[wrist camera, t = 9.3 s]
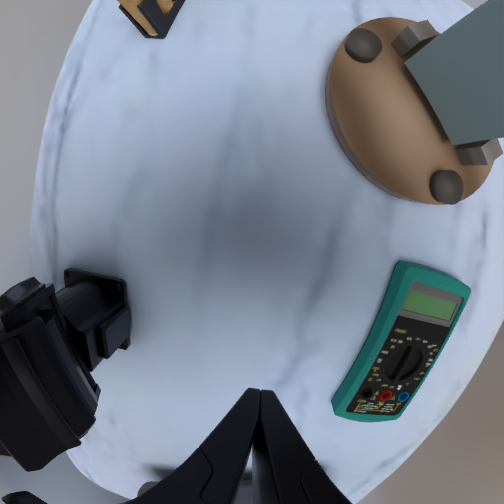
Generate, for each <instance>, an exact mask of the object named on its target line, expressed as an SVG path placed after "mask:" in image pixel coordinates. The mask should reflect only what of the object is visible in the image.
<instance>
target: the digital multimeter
mask: <svg viewBox="0 0 504 504" xmlns="http://www.w3.org/2000/svg"><path fill="white" fill-rule="evenodd" d="M470 293H471V288H470V287H468V286H467V285H465V284H464V283H462V282H461V281H459V280H457V279H455V278H453V277H451V276H449V275H447V274H445V273H443V272H441V271H438V270H435V269H433V268H430V267H426V266H423V265H419V264H415V263H411V262H406V261H400V262H398V263H397V265H396V267H395V270H394V273H393V276H392V279H391V282H390V285H389V288H388V290H387V293H386V296H385V299H384V301H383V304H382V307H381V309H380V312H379V314H378V317H377V319H376V321H375V323H374V326H373V328H372V330H371V332H370V334H369V336H368V339H367V341H366V343H365V345H364V347H363V349H362V351H361V353H360V354H359V356H358V358H357V360H356V362H355V363H354V365H353V367H352V368H351V370H350V372H349V374H348V375H347V377H346V379H345V380H344V382H343V383H342V385H341V386H340V388H339V389H338V391H337V392H336V394H335V395H334V397H333V398H332V406H333V410H334V414H335V415H337V416H340V417H343V418H346V419H349V420H354V421H359V422H381V421H389V420H396V419H398V418H399V417H400V416H401V415H402V413H403V412H404V410H405V409H406V407H407V406H408V404H409V403H410V402H411V400H412V399H413V397H414V396H415V394H416V393H417V391H418V390H419V388H420V386H421V385H422V383H423V382H424V380H425V378H426V377H427V375H428V374H429V372H430V370H431V369H432V367H433V365H434V364H435V362H436V360H437V359H438V357H439V355H440V353H441V352H442V350H443V348H444V346H445V344H446V342H447V341H448V339H449V337H450V335H451V333H452V331H453V329H454V327H455V325H456V323H457V321H458V319H459V317H460V315H461V313H462V311H463V309H464V307H465V305H466V303H467V300H468V298H469V296H470ZM393 324H394V325H393ZM392 326H393V327H392ZM391 328H392V329H391ZM390 330H391V331H390ZM389 332H390V333H389ZM388 334H389V335H388ZM387 336H388V337H387ZM386 338H387V339H386ZM385 340H386V341H385ZM384 342H385V343H384ZM383 344H384V345H383ZM382 346H383V347H382ZM381 348H382V349H381ZM376 357H377V358H376ZM375 359H376V360H375ZM374 361H375V362H374ZM371 366H372V367H371ZM370 368H371V369H370ZM369 370H370V371H369ZM366 375H367V376H366ZM365 377H366V378H365ZM385 378H386V379H385ZM356 392H357V393H356ZM354 395H355V396H354ZM351 400H352V401H351ZM349 403H350V404H349Z"/></svg>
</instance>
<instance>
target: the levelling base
mask: <svg viewBox="0 0 504 504" xmlns="http://www.w3.org/2000/svg"><path fill="white" fill-rule="evenodd" d="M439 35H441V34H440V33H439V32H437V31H436V30H435V29H434V28H433V26H432V25H431V24H430V23H429V21H428V20H425V21H421V22H415V21H412V20H408V19H403V18H393V17H388V18H378V19H374V20H370V21H368V22H365V23H363V24H361V25H360V26H358V27H356V28H355V29H353V30H352V31H351V32H350V33H349V34H348V35H347V36H346V38H345V39H344V41H343V42H342V43H341V45H340V47H339V49H338V51H337V53H336V55H335V57H334V59H333V61H332V63H331V65H330V68H329V71H328V75H327V79H326V88H325V93H326V106H327V112H328V116H329V119H330V123H331V126H332V128H333V131H334V133H335V136H336V138H337V140H338V142H339V144H340V145H341V147H342V149H343V151H344V152H345V154H346V155H347V156H348V158H349V159H350V161H351V162H352V163H353V164H354V165H355V167H356V168H357V169H358V170H359V171H360V172H361V173H362V174H363V175H364V176H365V177H366V178H367V179H368V180H370V181H371V182H372V183H374V184H375V185H376V186H377V187H379V188H381V189H382V190H384V191H386V192H387V193H389V194H392V195H394V196H396V197H399V198H402V199H406V200H409V201H415V202H421V203H427V204H434V205H445V204H451V205H453V204H456V203H458V202H459V201H461V200H463V199H465V198H467V197H469V196H470V195H472V194H473V193H474V192H475V191H476V190H477V189H478V188H479V187H480V186H481V185H482V184H483V182H484V181H485V180H486V178H487V176H488V174H489V173H490V170H491V168H492V165H493V163H494V160H495V159H497V158H498V157H499V156H500V155H502V154H503V151H502V149H501V146H500V144H499V141H498V139H497V138H496V139H489V140H483V141H476V142H470V143H465V144H459V145H453V146H452V144H451V142H450V140H449V138H448V136H447V134H446V132H445V130H444V128H443V126H442V124H441V122H440V120H439V118H438V117H437V115H436V113H435V111H434V109H433V108H432V106H431V104H430V102H429V101H428V99H427V97H426V96H425V94H424V92H423V91H422V89H421V87H420V86H419V84H418V83H417V81H416V80H415V78H414V77H413V75H412V74H411V72H410V71H409V69H408V68H407V66H406V65H405V64H404V62H406V61H407V60H408V59H409V58H411V57H412V56H413V55H415V54H416V53H417V52H418V51H420V50H421V49H422V48H424V47H425V46H426V45H427V44H429V43H430V42H431V41H433V40H434V39H435V38H437V37H438V36H439Z"/></svg>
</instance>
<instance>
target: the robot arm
mask: <svg viewBox="0 0 504 504" xmlns="http://www.w3.org/2000/svg"><path fill="white" fill-rule="evenodd" d="M69 274H70V275H69ZM64 281H65V288H63V289H61V290H59V291H58V292H56V293H55V292H54V291H55V288H54V285H53V283H51V284H46V285H45V284H41V283H40V282H39V281H38V280H37V279H35V278H34V277H31V278H28V279H26V280H25V281H22V282H20V283H18V284H16V285H15V286H13V287H11V288H10V289H9V290H7V291H6V292H5V293H4V294H2V295H1V296H0V456H6V457H13V458H14V459H15V460H16V461H17V462H18V463H19V465H20V466H21V467H22V468H23V469H24V470H25V471H28V472H29V471H35V470H40V469H42V468H43V467H44V466H45V465H47V464H48V463H49V462H50V461H51V460H52V459H54V458H55V457H56V456H57V455H59V454H61V453H62V452H64V451H66V450H68V449H71V448H74V447H77V446H79V445H81V441H80V440H79V439H81V438H82V437H83V436H84V435H85V434H86V433H87V432H88V431H89V430H90V429H91V427H92V426H93V425H94V423H95V421H96V418H95V416H94V415H95V412H96V409H97V406H98V403H97V402H98V399H99V395H100V392H101V389H100V388H99V386H98V384H96V383H95V381H94V379H93V377H92V375H91V374H90V372H92V371H93V370H94V369H95V368H96V366H97V365H98V364H99V363H100V362H101V361H102V360H103V359H108V358H110V357H111V355H112V354H113V353H114V352H115V351H116V350H117V349H118V348H120V349H123V350H126V349H127V348H128V347H129V346H130V341H129V335H130V321H129V308H128V306H127V292H126V283H125V282H124V281H123V280H121V279H116V278H112V277H107V276H102V275H98V274H93V273H89V272H85V271H80V270H76V269H72V268H68V269H66V270H65V271H64ZM118 284H120V285H121V288H120V287H119V285H118ZM123 343H124V344H125V345H124V344H123ZM251 447H252V483H253V504H352V503H351V502H350V501H349V500H348V499H347V498H346V497H345V496H344V495H343V493H342V492H341V491H340V490H339V489H338V488H337V487H336V486H335V485H334V483H333V482H332V481H331V480H330V479H329V477H328V476H327V475H326V473H325V472H324V470H323V469H322V468H321V466H320V465H319V463H318V461H317V460H315V457H314V456H313V454H312V452H311V451H310V449H309V448H308V446H307V445H306V443H305V442H304V440H303V438H302V437H301V435H300V434H299V432H298V430H297V429H296V427H295V426H294V424H293V422H292V421H291V419H290V418H289V416H288V414H287V413H286V411H285V409H284V408H283V406H282V404H281V403H280V401H279V399H278V398H277V396H276V394H275V393H274V391H272V390H261V391H260V389H255V388H248V389H247V390H246V391H245V392H244V393H243V395H242V396H241V397H240V398H239V400H238V401H237V402H236V403H235V405H234V406H233V407H232V408H231V410H230V411H229V412H228V413H227V414H226V416H225V417H224V418H223V419H222V420H221V422H220V423H219V424H218V425H217V426H216V427H215V429H214V430H213V431H212V432H211V433H210V434H209V436H208V437H207V438H206V439H205V440H204V441H203V442H202V444H201V445H200V446H199V448H197V449H196V450H195V451H194V452H193V453H192V455H191V456H190V457H189V458H188V459H187V460H186V461H185V462H184V463H183V464H182V465H180V466H179V467H178V468H177V469H176V470H174V471H173V472H172V473H171V474H169V475H168V476H167V477H165V478H164V479H163V480H161V481H160V482H159V483H157V484H156V485H154V486H153V487H152V488H150V489H149V490H147V491H146V492H144V493H143V494H141V495H140V496H138V497H136V498H134V499H132V500H130V501H127V502H125V503H120V504H235V501H236V498H237V495H238V492H239V488H240V485H241V482H242V479H243V475H244V472H245V469H246V465H247V462H248V459H249V455H250V451H251ZM2 500H3V501H4V502H5V503H6V504H47V503H46V502H44V501H42V500H41V499H39V498H38V497H36V496H35V495H33V494H31V493H30V492H27V491H20V492H14V493H11V494H7V495H6V496H4V497H2Z"/></svg>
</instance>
